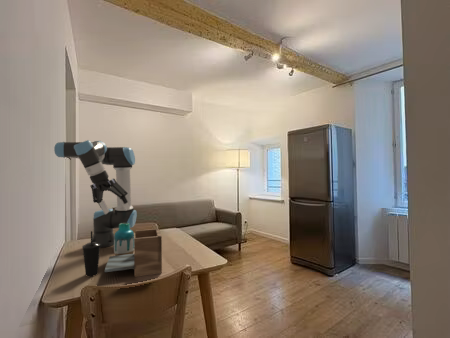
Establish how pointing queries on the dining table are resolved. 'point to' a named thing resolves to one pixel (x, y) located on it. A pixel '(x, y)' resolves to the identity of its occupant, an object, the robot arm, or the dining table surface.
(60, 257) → the dining table surface
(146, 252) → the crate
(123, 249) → the vase
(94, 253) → the drinking cup
